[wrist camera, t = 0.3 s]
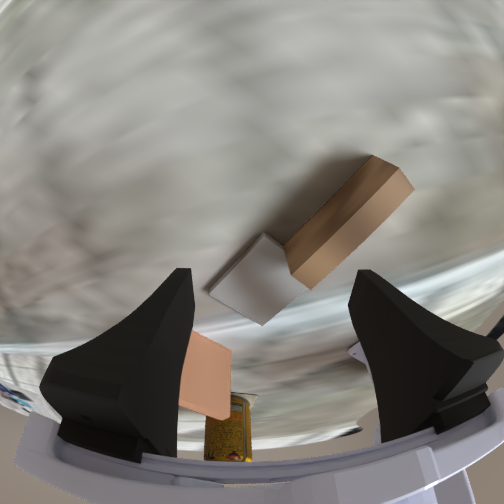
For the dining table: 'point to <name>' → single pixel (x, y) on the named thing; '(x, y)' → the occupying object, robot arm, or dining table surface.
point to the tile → (206, 378)
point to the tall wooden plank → (312, 244)
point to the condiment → (230, 432)
